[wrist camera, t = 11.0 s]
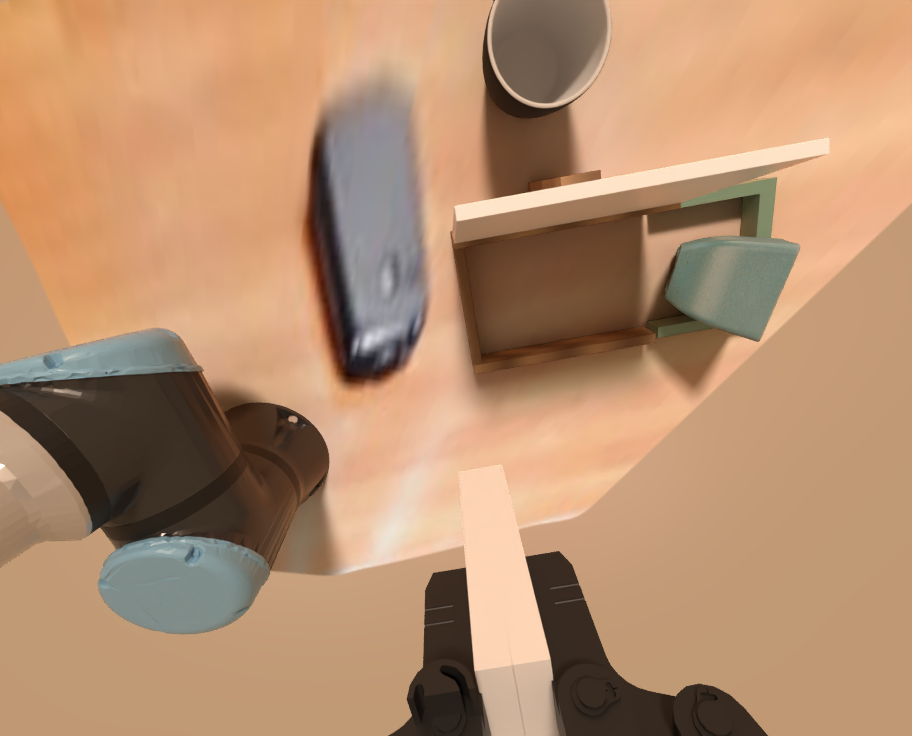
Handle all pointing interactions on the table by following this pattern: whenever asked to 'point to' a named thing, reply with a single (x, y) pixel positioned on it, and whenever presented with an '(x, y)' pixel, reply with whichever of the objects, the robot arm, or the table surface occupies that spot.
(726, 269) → the flower pot
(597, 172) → the stay post
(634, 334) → the brown wooden box
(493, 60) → the mug
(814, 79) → the table surface
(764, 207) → the potting tray
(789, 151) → the lid
